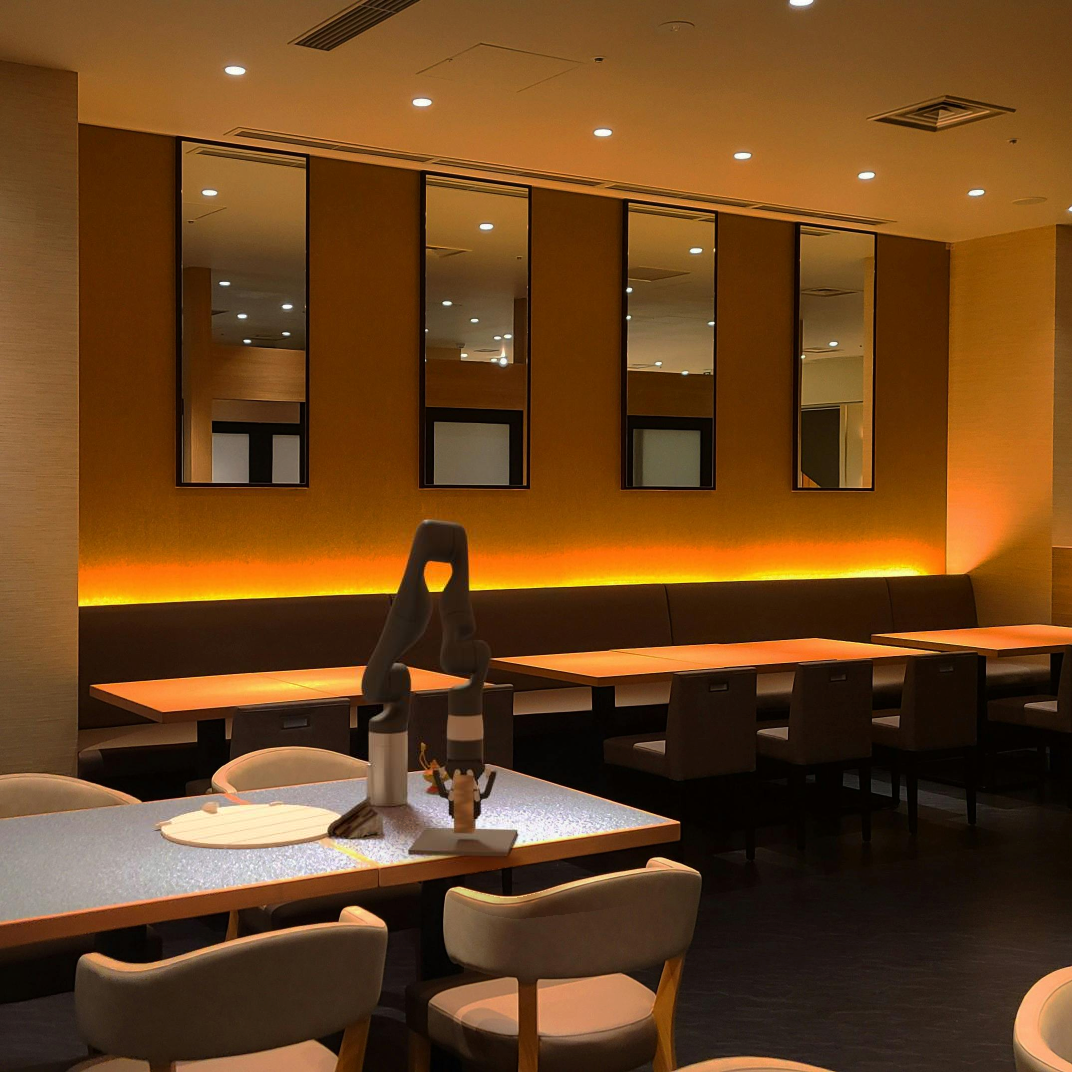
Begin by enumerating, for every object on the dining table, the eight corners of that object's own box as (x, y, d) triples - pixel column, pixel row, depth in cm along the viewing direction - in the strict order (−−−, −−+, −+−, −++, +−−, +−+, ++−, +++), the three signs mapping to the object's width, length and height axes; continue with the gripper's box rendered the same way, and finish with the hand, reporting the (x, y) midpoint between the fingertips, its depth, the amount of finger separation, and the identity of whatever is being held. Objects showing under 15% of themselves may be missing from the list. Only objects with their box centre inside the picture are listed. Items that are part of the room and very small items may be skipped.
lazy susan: (124, 827, 287) (125, 812, 287) (273, 801, 315) (273, 787, 315) (227, 860, 260) (227, 842, 260) (380, 828, 288) (380, 812, 288)
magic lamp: (450, 798, 318) (450, 753, 318) (408, 786, 332) (408, 743, 332) (472, 794, 323) (473, 750, 323) (430, 783, 337) (430, 740, 337)
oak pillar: (453, 833, 271) (453, 775, 271) (456, 828, 275) (456, 771, 275) (472, 833, 270) (473, 775, 270) (475, 829, 274) (475, 772, 274)
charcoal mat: (408, 853, 263) (408, 849, 263) (425, 831, 283) (425, 827, 283) (507, 856, 262) (507, 852, 262) (517, 833, 282) (517, 829, 282)
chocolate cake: (343, 845, 273) (382, 801, 278) (323, 830, 278) (362, 787, 282) (363, 867, 280) (401, 824, 284) (343, 852, 284) (381, 810, 288)
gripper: (428, 738, 269) (428, 821, 269) (496, 739, 268) (496, 823, 268) (434, 732, 277) (434, 813, 277) (501, 733, 276) (500, 815, 276)
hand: (464, 817), depth 272 cm, fingers closed on oak pillar, 4 cm apart
